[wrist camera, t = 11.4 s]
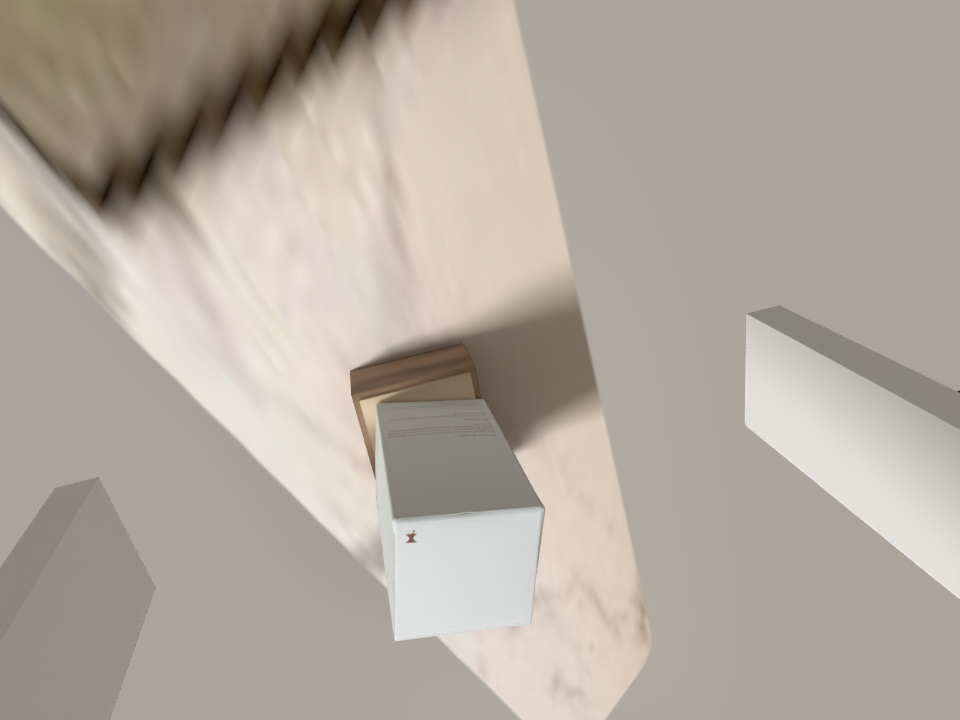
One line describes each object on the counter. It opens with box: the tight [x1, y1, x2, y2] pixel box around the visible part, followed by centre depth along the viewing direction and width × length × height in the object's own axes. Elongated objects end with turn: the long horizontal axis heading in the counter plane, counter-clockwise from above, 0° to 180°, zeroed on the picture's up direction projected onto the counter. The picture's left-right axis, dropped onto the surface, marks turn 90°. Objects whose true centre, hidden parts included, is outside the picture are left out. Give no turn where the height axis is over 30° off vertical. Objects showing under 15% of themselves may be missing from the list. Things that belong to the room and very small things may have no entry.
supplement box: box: [375, 399, 545, 641], centre depth 36 cm, size 7×7×13 cm
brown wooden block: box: [350, 344, 481, 480], centre depth 44 cm, size 10×8×4 cm
